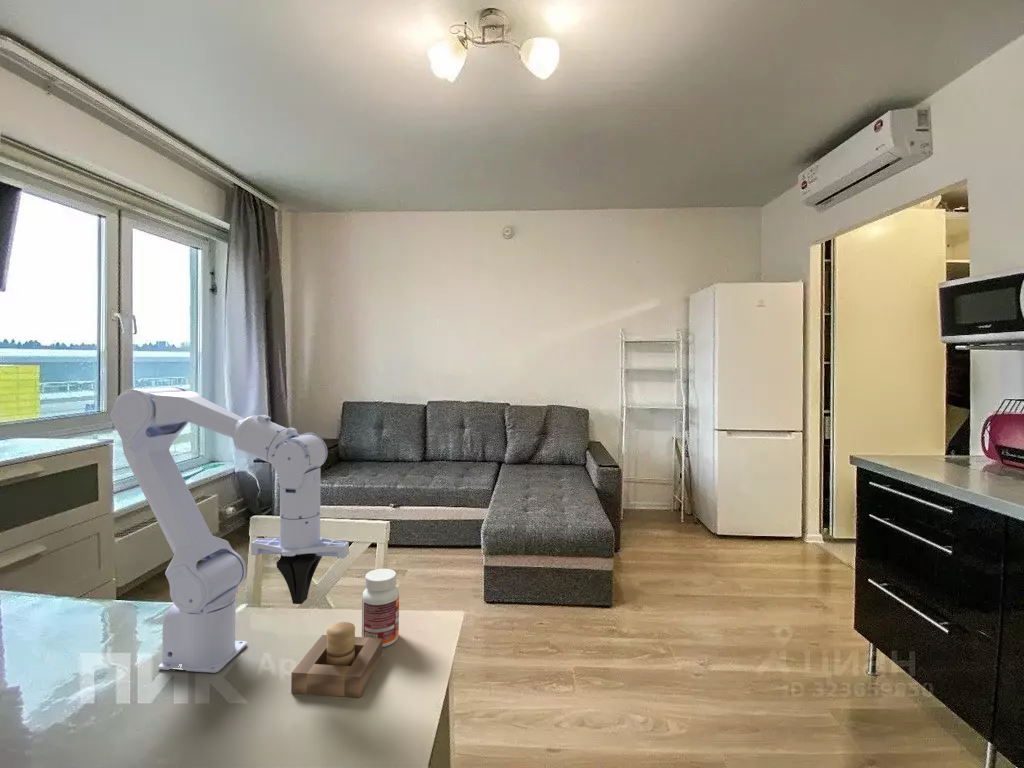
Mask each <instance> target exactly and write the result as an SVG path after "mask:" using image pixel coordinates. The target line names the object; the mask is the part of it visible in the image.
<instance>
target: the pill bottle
mask: <svg viewBox="0 0 1024 768" xmlns="http://www.w3.org/2000/svg"><path fill="white" fill-rule="evenodd" d="M364 579H365V580H364V588H365V589H364V591H363V592H362V597H361V637H367V638H383V645H382V648H385V647H388V646H391V645H393V644H395V642H397V640H398V638H399V634H400V633H399V630H400V628H399V627H400V623H399V622H400V619H399V618H400V591H399V588H398V587H397V586H396V585H397V573H396V571H395V570H393V569H390V568H377V569H372V570H371V571H368V572H367V573H366V574H365V578H364Z"/></svg>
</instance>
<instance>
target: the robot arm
mask: <svg viewBox="0 0 1024 768" xmlns="http://www.w3.org/2000/svg"><path fill="white" fill-rule="evenodd" d="M109 418H110V419H111V421H112V423H113V425H114V427H115V429H116V432H117V434H118V435H119V438H120V439H121V444H122V445H121V446H122V451H123V455H124V458H125V459H126V461H127V464H128V466H129V467H130V469H131V471H132V473H133V475H134V477H135V479H136V482H137V483H138V485H139V487H140V489H141V491H142V493H143V496H144V497H145V499H146V501H147V503H148V504H149V507H150V509H151V511H152V513H153V514H154V517H155V519H156V521H157V523H158V525H159V528H160V529H161V531H162V533H163V536H164V537H165V539H166V540H167V541H166V542H167V543H168V545H169V547H170V549H171V550H172V553H173V557H172V559H171V561H170V563H169V564H168V566H167V568H166V570H165V572H164V575H165V576H166V579H167V581H168V584H169V596H170V598H171V599H170V600H171V601H172V603H173V604H172V605H171V606H170V607H169V609H168V610H167V611H166V614H165V616H164V619H163V623H162V659H161V661H162V662H161V663H160V664H159V665H158V669H159V670H165V671H166V670H167V671H170V670H169V669H173V668H180V666H179V664H182V667H181V668H182V669H183V670H186V671H185V672H199V673H219V672H220V671H221V670H222V669H223V668H224V667H226V665H227V664H229V662H231V660H233V659H234V658H235V657H236V656H237V655H238V654H239V653H240V652H241V651H242V650H243V649H244V648H245V647H246V646H247V645H248V641H246V640H236V620H237V619H236V608H237V607H236V603H237V599H236V598H237V597H236V596H237V594H238V593H239V591H238V590H239V585H241V584H242V583H243V581H244V579H245V577H246V575H247V574H246V573H247V567H246V566H247V565H246V562H245V560H244V559H243V557H242V556H241V555H240V554H239V553H238V552H236V551H235V550H234V548H232V546H231V544H230V543H229V542H230V541H228V540H226V539H223V538H221V537H217V536H215V535H213V534H212V532H211V530H210V529H209V526H208V525H207V523H206V521H205V518H204V517H203V514H202V512H201V511H200V509H199V507H198V505H197V502H196V500H195V498H194V497H193V495H192V493H191V491H190V489H189V486H188V485H187V483H186V481H185V479H184V476H183V475H182V473H181V471H180V469H179V467H178V465H177V463H176V461H175V460H174V457H173V455H172V453H171V451H170V448H171V446H172V444H173V442H174V441H176V439H177V438H178V436H179V435H180V434H181V433H182V431H183V430H184V429H185V428H186V427H187V426H188V425H189V423H190V424H193V425H195V426H199V427H201V428H204V429H207V430H210V431H212V432H215V433H218V434H221V435H222V436H226V437H228V438H231V439H232V441H233V445H234V447H235V448H236V449H237V450H239V451H242V452H243V453H246V454H249V455H251V456H253V457H256V458H257V459H259V460H262V461H264V462H267V463H269V464H271V465H272V468H273V469H274V471H275V473H276V474H277V477H278V485H279V537H268V538H261V537H260V538H257V539H255V540H253V541H252V542H251V543H250V552H251V553H250V554H251V556H258V555H260V554H261V555H262V554H263V555H264V554H265V555H280V557H279V559H278V560H277V561H276V568H277V569H278V571H279V572H280V574H281V575H282V577H283V578H284V580H285V582H286V585H287V587H288V591H289V594H290V597H291V601H292V604H294V605H302V604H303V603H304V602H305V601H306V600H307V599H308V596H309V591H310V587H311V584H312V580H313V578H314V574H315V572H316V570H317V567H318V566H319V563H320V561H321V560H322V558H323V557H333V558H335V557H336V558H337V559H343V560H344V559H345V558H346V557H347V556H348V555H349V552H350V551H349V549H350V548H349V547H350V542H349V541H342V540H335V539H330V538H326V537H321V484H322V483H321V472H322V471H321V467H322V465H324V463H325V462H326V460H327V458H328V447H327V444H326V443H325V441H324V440H323V439H322V438H321V437H320V436H318V435H317V434H316V433H314V432H305V433H302V434H299V433H298V430H297V428H294V427H285V426H282V425H280V424H277V423H275V422H273V421H271V419H272V418H271V416H268V415H267V414H259V415H251V416H248V417H246V418H244V417H242V416H240V415H238V414H236V413H235V412H232V411H231V410H228V409H227V408H224V407H222V406H220V405H218V404H216V403H214V402H212V401H210V400H208V399H207V398H204V397H202V396H201V395H200V394H199V393H198V392H196V391H192V390H188V389H186V388H185V387H181V386H174V387H170V388H167V387H166V388H149V389H139V388H130V389H127V390H124V391H122V392H121V393H120V394H119V395H118V396H117V397H116V399H115V402H114V403H113V407H112V409H111V411H110V415H109ZM199 561H202V562H201V563H198V562H199ZM178 666H179V667H178Z"/></svg>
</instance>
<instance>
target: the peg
mask: <svg viewBox="0 0 1024 768" xmlns="http://www.w3.org/2000/svg"><path fill="white" fill-rule="evenodd" d="M326 635H327V665H337V666H351V665H352V663H353V662H354V658H355V637H356V626H355V624H354V623H351V622H347V621H346V622H345V621H343V622H342V621H341V622H337V623H334V624H332V625H330V626H329V627H328V628H327V630H326Z"/></svg>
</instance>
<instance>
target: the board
mask: <svg viewBox="0 0 1024 768" xmlns="http://www.w3.org/2000/svg"><path fill="white" fill-rule="evenodd" d="M382 645H383V638H367V637H362V636H355V658H354V662H353V663H352V665H351V666H337V665H327V634H322V635H321V636H320V637H319V638H318V639H317V641H316V642H315V643H314V644H313V646H312V647H311V648H310V649H309V650H308V652H307V653H306V654H305V656H304V657H303V658H302V659H301V660H300V662H299V663H298V664H297V665H296V666H295V668H294V669H293V670H292V671H291V676H290V677H291V680H290V682H291V684H290V689H291V691H290V693H291V694H302V695H303V694H304V695H316V696H332V697H346V698H347V697H348V698H358V699H360V698H361V696H362V694H363V692H364V691H365V689H366V687H367V685H368V684H369V682H370V680H371V678H372V676H373V674H374V672H375V671H376V669H377V667H378V665H379V663H380V662H381V660H382V657H383V647H382Z"/></svg>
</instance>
